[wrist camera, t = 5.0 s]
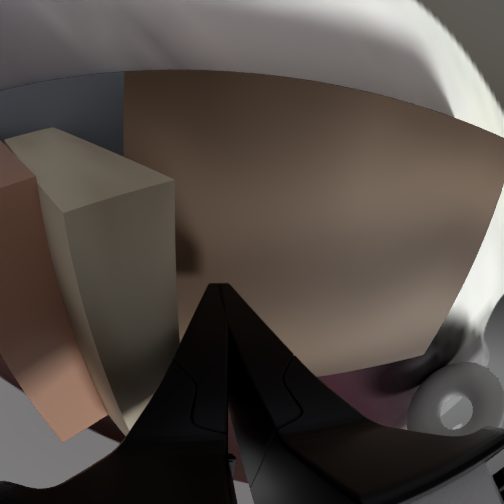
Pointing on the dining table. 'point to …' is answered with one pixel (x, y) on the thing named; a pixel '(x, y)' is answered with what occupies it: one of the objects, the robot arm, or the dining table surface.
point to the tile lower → (110, 262)
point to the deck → (317, 206)
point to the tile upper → (38, 311)
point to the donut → (452, 385)
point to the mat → (68, 109)
